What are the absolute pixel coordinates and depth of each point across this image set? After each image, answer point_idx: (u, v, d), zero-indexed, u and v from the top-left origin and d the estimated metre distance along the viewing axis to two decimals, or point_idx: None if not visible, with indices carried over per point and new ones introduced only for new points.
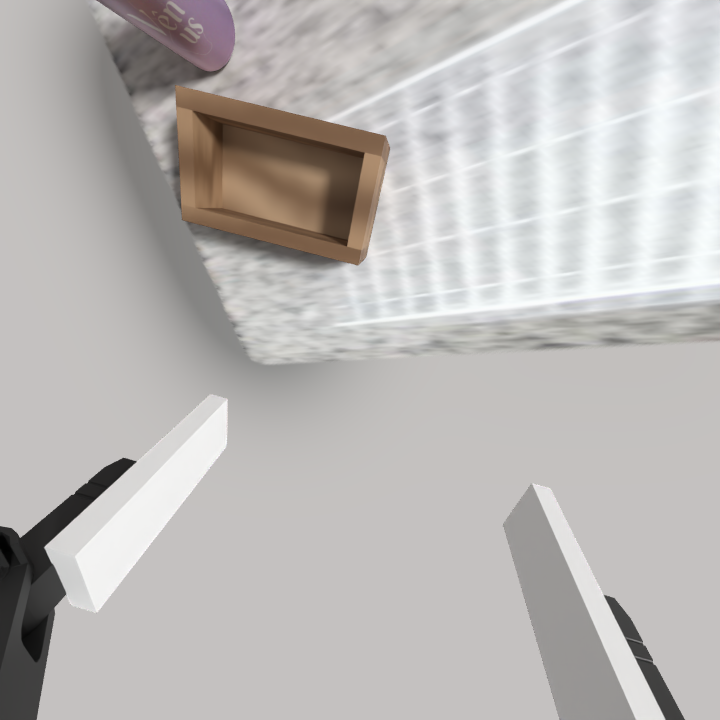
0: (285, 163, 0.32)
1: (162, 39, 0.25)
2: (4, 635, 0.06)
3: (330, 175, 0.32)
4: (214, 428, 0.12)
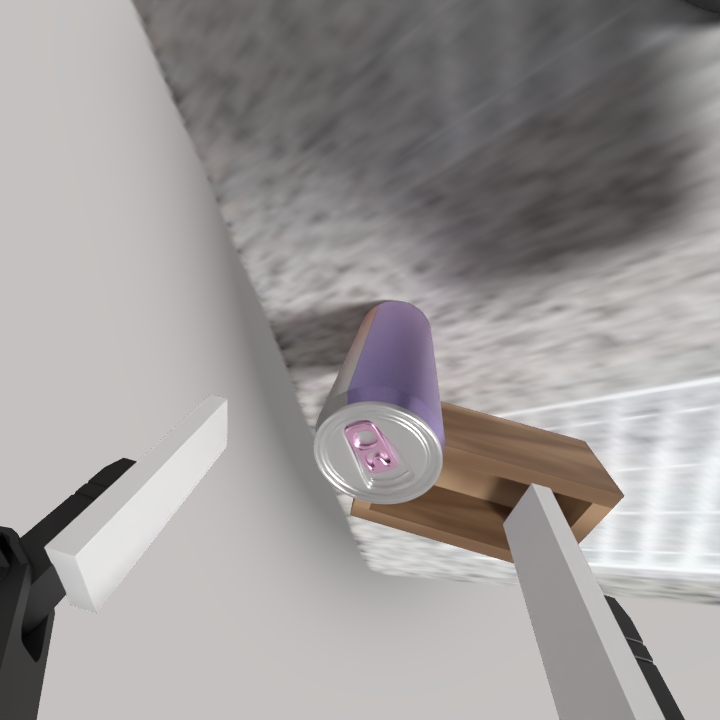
0: None
1: None
2: (4, 635, 0.06)
3: None
4: (214, 428, 0.12)
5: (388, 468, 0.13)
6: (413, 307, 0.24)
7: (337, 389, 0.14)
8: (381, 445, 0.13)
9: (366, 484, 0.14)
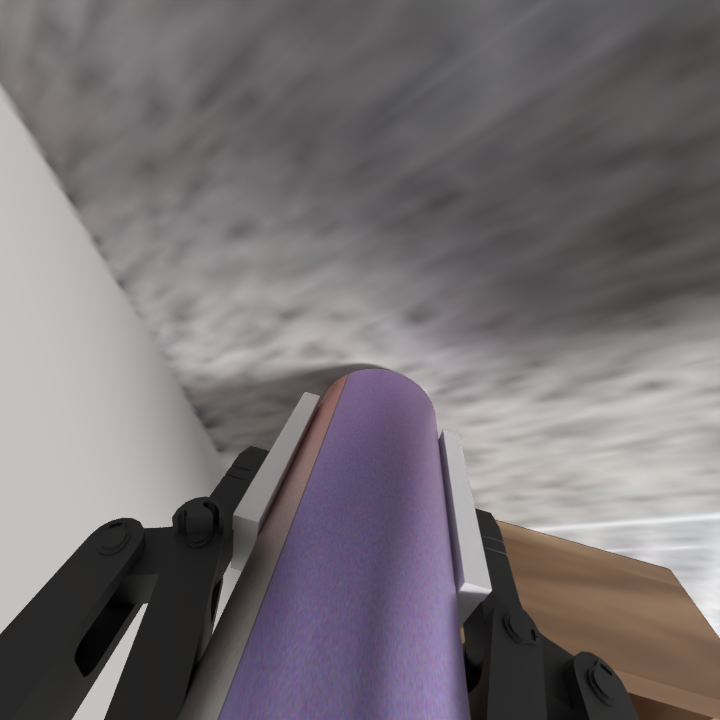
0: None
1: None
2: (205, 595, 0.07)
3: None
4: (311, 422, 0.14)
5: None
6: (405, 382, 0.14)
7: None
8: None
9: None
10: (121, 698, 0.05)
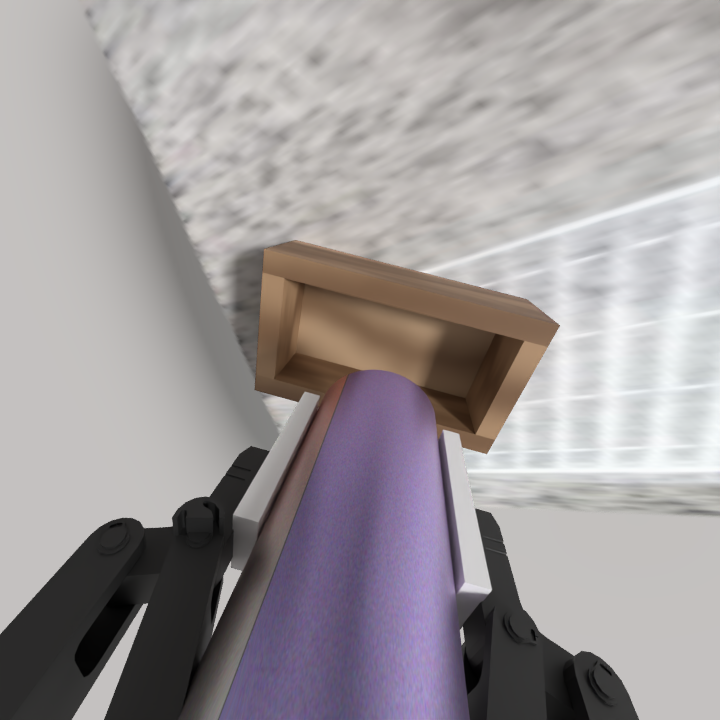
0: (385, 312, 0.25)
1: None
2: (205, 595, 0.07)
3: (444, 328, 0.25)
4: (311, 422, 0.14)
5: None
6: (405, 383, 0.14)
7: None
8: None
9: None
10: (121, 698, 0.05)
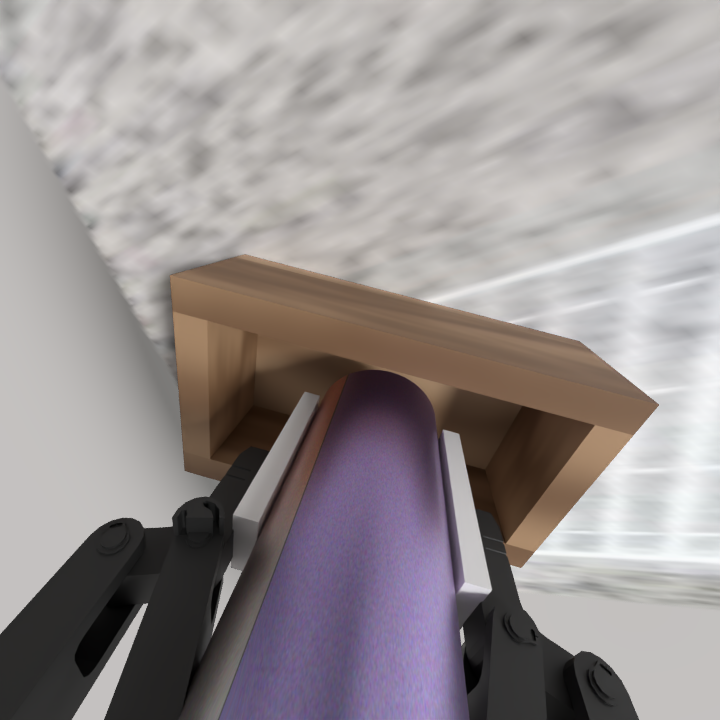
0: None
1: None
2: (205, 595, 0.07)
3: None
4: (311, 422, 0.14)
5: None
6: (405, 383, 0.14)
7: None
8: None
9: None
10: (121, 698, 0.05)
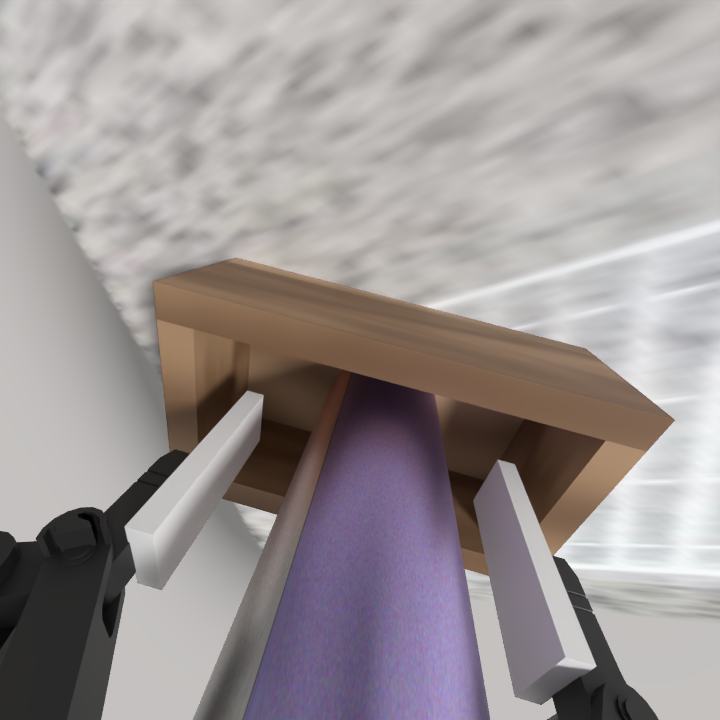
0: None
1: None
2: (90, 609, 0.06)
3: None
4: (252, 423, 0.13)
5: None
6: None
7: (219, 700, 0.05)
8: None
9: None
10: None
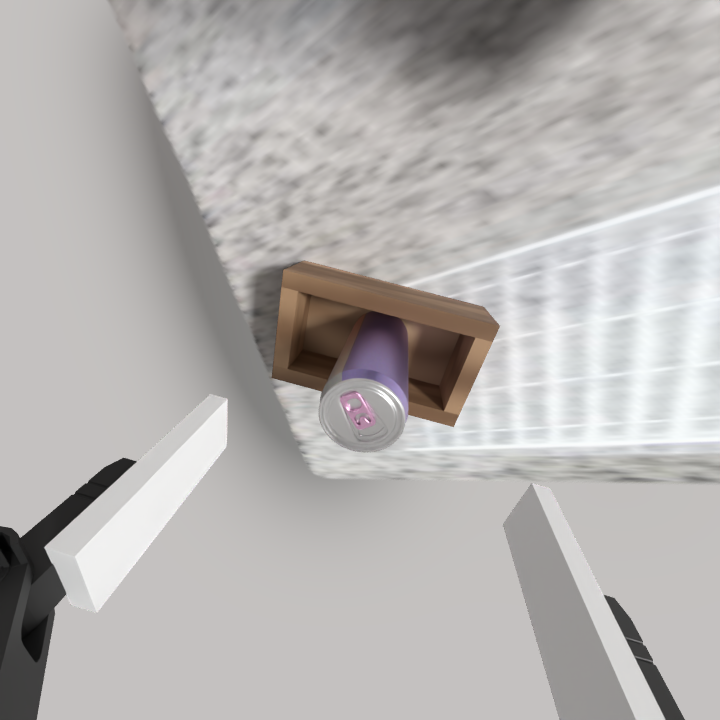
0: None
1: None
2: (4, 635, 0.06)
3: (420, 329, 0.32)
4: (214, 428, 0.12)
5: (369, 425, 0.20)
6: None
7: (335, 372, 0.20)
8: (364, 408, 0.19)
9: (355, 438, 0.20)
10: None
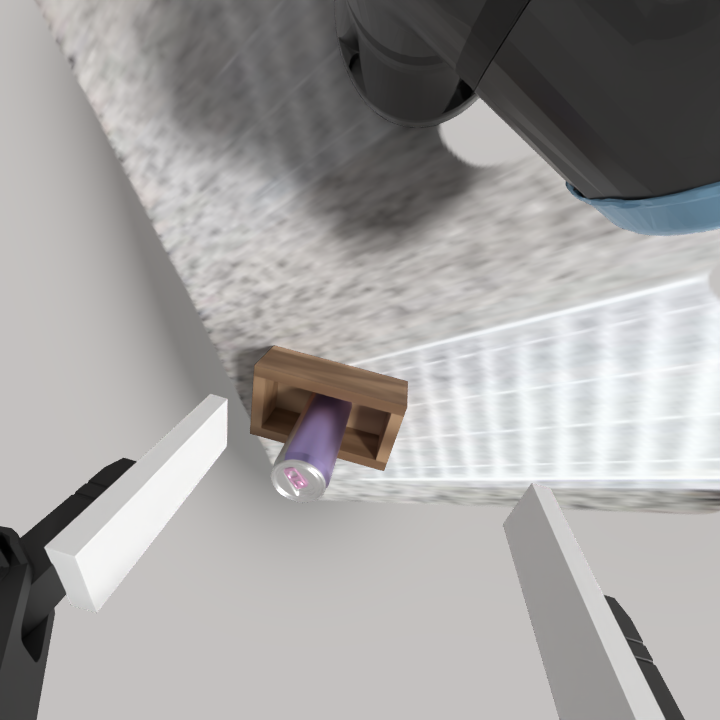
0: None
1: None
2: (4, 635, 0.06)
3: None
4: (214, 428, 0.12)
5: (303, 486, 0.30)
6: None
7: (282, 451, 0.31)
8: (299, 477, 0.30)
9: (296, 493, 0.31)
10: None
